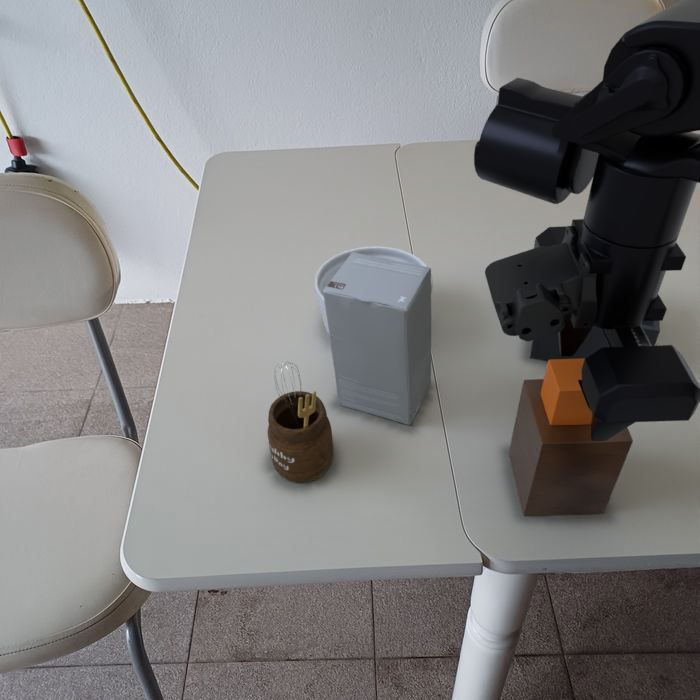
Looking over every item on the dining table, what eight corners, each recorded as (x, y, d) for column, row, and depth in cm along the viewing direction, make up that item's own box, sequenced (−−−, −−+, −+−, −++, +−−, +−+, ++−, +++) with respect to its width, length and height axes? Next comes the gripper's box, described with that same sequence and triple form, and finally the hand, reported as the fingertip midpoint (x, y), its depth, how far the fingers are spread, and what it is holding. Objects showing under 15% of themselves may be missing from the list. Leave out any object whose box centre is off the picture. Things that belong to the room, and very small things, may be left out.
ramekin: (294, 331, 76) (289, 283, 71) (366, 278, 83) (365, 232, 79) (382, 381, 69) (382, 332, 65) (452, 319, 77) (456, 272, 72)
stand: (581, 450, 62) (606, 376, 55) (603, 514, 57) (633, 440, 50) (508, 453, 62) (523, 379, 55) (523, 516, 57) (542, 443, 50)
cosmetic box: (431, 386, 69) (440, 263, 58) (407, 434, 64) (411, 309, 53) (359, 364, 72) (354, 243, 61) (330, 409, 67) (320, 286, 56)
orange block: (600, 392, 54) (611, 357, 51) (613, 424, 51) (626, 388, 48) (540, 393, 54) (548, 359, 51) (550, 426, 51) (559, 391, 48)
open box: (640, 310, 77) (656, 264, 72) (642, 377, 68) (660, 330, 64) (539, 295, 79) (549, 250, 75) (529, 358, 71) (539, 311, 67)
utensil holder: (317, 427, 65) (307, 338, 57) (346, 471, 61) (340, 382, 53) (263, 450, 63) (245, 361, 55) (289, 497, 59) (274, 409, 51)
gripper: (479, 161, 48) (463, 322, 58) (534, 323, 34) (500, 496, 45) (631, 155, 48) (587, 318, 58) (748, 315, 34) (663, 491, 44)
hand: (581, 394), depth 51 cm, fingers open, 9 cm apart
